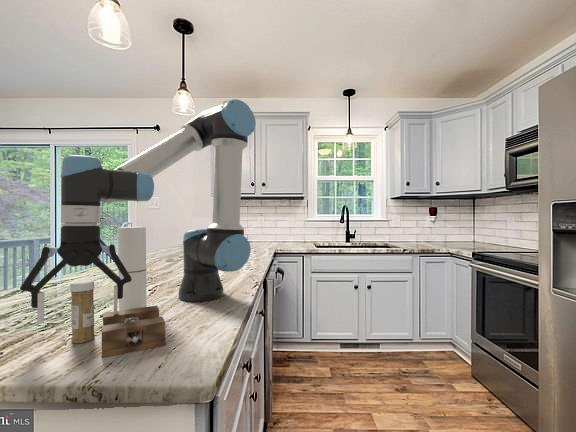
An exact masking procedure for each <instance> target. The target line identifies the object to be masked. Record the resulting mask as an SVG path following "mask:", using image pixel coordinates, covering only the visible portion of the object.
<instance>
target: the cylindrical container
mask: <svg viewBox="0 0 576 432" xmlns="http://www.w3.org/2000/svg"><path fill="white" fill-rule="evenodd" d="M146 237H147V227H146V226H118V227H117V242H118V243H117V244H118V245H117V246H118V247H117V248H118V249H117V253H118V254H117V255H118V257H119V259H120V260H121V262H122V263H123V265H124V267H125V268H126V270H127V271H128V273H129V275H130V276H131V279H132V280H131V281H130V282H128V283H125V284H124V285H123V297H122V299H118V311H120V310H127V309H134V308H142V307H148V305H147V302H148V301H147V238H146ZM117 269H118V268H117ZM117 273H118V274H117V275H118V276H119V277H120V278H121V279H122V278H124V277H123V275H122V274H121V272H120V270H119V269H118V272H117ZM133 318H135V317H133Z"/></svg>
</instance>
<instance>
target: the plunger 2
mask: <svg viewBox="0 0 576 432" xmlns="http://www.w3.org/2000/svg"><path fill="white" fill-rule="evenodd" d="M139 334H140V331H134V332H129V333H128V336H129V337H130V338H132V341H133V343H137V342H138V338H137V337H138V335H139Z"/></svg>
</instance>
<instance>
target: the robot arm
mask: <svg viewBox="0 0 576 432" xmlns="http://www.w3.org/2000/svg"><path fill="white" fill-rule="evenodd" d="M256 124H257V123H256V117H255V114H254V112H253V110H252V109H251V108H250V106H249V105H248V104H247V103H246V102H244V101H243V100H241V99H238V98H237V99H236V98H234V99H233V98H232V99H230V100H225V101H223V102H222V103H220V104H216V105H215V106H212V107H209V108H207V109H204V110H203V111H201V113H199V114H197V115H196V116H195V117H193V118H192V119H191V120H189V121H188V122H186V123H184V124H183V125H182V126H180V130H179V131H176V133H174V134H172V135H170V136H169V137H167V138H165V139H163V140H161V141H160V142H159V143H157V144H155V145H154V146H152V147H149V148H148V149H146V150H145V151H143V152H141V153H140V154H138V155H136V156H134V157H133V158H131V159H129V160H127V161H126V162H124V163H122V164H121V165H119V166H117V167H116V168H114V169H112V168H107V167H103V165H102V160H101V159H99V158H97V157H92V156H90V155H77V154H76V155H74V154H73V155H67V156H65V157H63V159H62V166H61V174H60V178H61V180H60V182H61V186H60V187H61V189H60V191H61V194H60V196H61V198H60V199H61V204H60V223H61V224H63V225H62V226H61V227H60V241H59V242H60V243H59V247H52V246H49V245H46V246H44V247H42V249H41V254H40V257H39V259H38V261H37V262H36V263H35V265H34V266H33V268H32V269H31V270H30V272H29V273H28V275H27V277H26V278H25V280H24V281H23V283H22V284H21V286H20V288H19V289H20V291H22V292H28V293H30V294H31V302H30V303H31V304H30V305H31V308H32V309H34V308H35V309H36V308H37V318H36V322H37V323H36V324H37V325H41V324H43V323H44V321H45V296H46V295H45V290H44V289H43V290H41V289H42V288H44V287H45V285H46V284H47V283H48V282H50V281H51V280H52V279H53V278H54V277H55V276H56V275H57V274H58V273H60V271H61V270H62V269H64V267H65V266H70V267H79V266H83V267H87V266H91V265H92V264H93V265H95V266H96V268H98V269H99V270H100V271H101V272H103V273H104V274H105V275H106V276H107V277H108V278H109V279H110V280H112V281H113V282H114V283H115V284H113V311H114V314H117V311H118V300H119V299H122V297H123V285H124V284H125V283H128V282H130V281H131V280H132V279H131V276H130V275H129V273H128V271H127V270H126V268H125V267H124V265H123V263H122V262H121V260H120V259H119V257H118V254H117V251H116V245H115V244H114V243H111V244H109V245H104V246H102V245H101V227H100V225H98V224H100V223H101V208H102V207H101V206H102V205H101V203H107V204H111V203H115V202H116V203H117V202H118V203H119V202H120V203H121V202H137V203H138V202H148V201H150V200H151V199H152V198H153V195H154V192H155V183H154V182H155V181H154V177H156V176H157V175H159V174H160V173H162V172H163V171H165V170H166V169H168V168H169V167H171V166H172V165H175V163H177V162H179V161H180V160H182V159H183V158H185V157H186V156H188V155H189V154H191V153H192V152H199V151H201V150H203V149H204V148H206V147H209V146H213V147H214V148H215V155H214V157H215V158H214V161H215V162H214V176H213V177H214V178H213V179H214V181H213V197H212V198H213V201H212V222H211V223H210V224H209V225H208V226H207V227H206V228H201V229H200V228H199V229H193V230H188V231H185V232H184V234H183V241H182V244H183V276H182V280H181V282H180V283H181V284H180V286H179V289H178V299H179V300H181V301H185V302H205V301H212V300H217V299H220V298H222V297H223V296H224V286H223V283H222V280H221V278H220V274H219V271H220V272H231V273H232V272H237V271H239V270H241V269H242V268H243V267H244V266H245V265H246V264H247V262H248V261H249V258H250V257H251V251H252V250H251V249H252V248H251V243H250V241H249V240H248V238H247V237H246V236H245V228H244V227H243V226H242V225H241V222H240V221H241V220H240V219H241V200H242V198H241V194H242V175H243V174H242V171H243V169H242V168H243V151H244V150H245V148H247V147H248V143H249V142H248V139H249V136H251V135H252V134H253V132H255V128H256ZM102 252H105V254H106V255H110V257H111V259H112V261H113V262H114V265H116V267H117V269H119V270H120V272H121V274H122V275H123V277H124V278H122V279H121V278H120V277H119V275H118V274H116V272H114V271H113V270H112V269H111V268H110V267H109V266H108V265H107V264H105V263H104V262H103V261H102V260H101V259H100V255H101V253H102ZM55 254H58V255H59V257H60V258H61V259H62V260H61V261H59V262H58V264H57V265H55V266H54V267H53V268H52V269H51V270H50V271H49V272H47V274H45V276H44V277H43V278H41V280H39V281H38V282H37V284H33V282H34V281H35V279H37V277H38V275H39V274H40V272H41V271H42V269H43V268H44V266H45V265H46V263H47V262H48V260H49V259H50V258H52V257H54V255H55Z"/></svg>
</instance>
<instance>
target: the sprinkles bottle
mask: <svg viewBox="0 0 576 432" xmlns="http://www.w3.org/2000/svg"><path fill="white" fill-rule="evenodd" d="M69 287H70V288H69V290H70V294H71V297H70V298H71V306H70V308H71V310H70V311H71V318H70V319H71V320H70V321H71V322H70V323H71V337H72V338H71V343H73V344H83V343H87V342H89V341H92V340H93V339H95V304H94V303H95V302H94V289H95V281H94V280H93V279H81V280H76V281H72V282H70V286H69Z"/></svg>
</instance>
